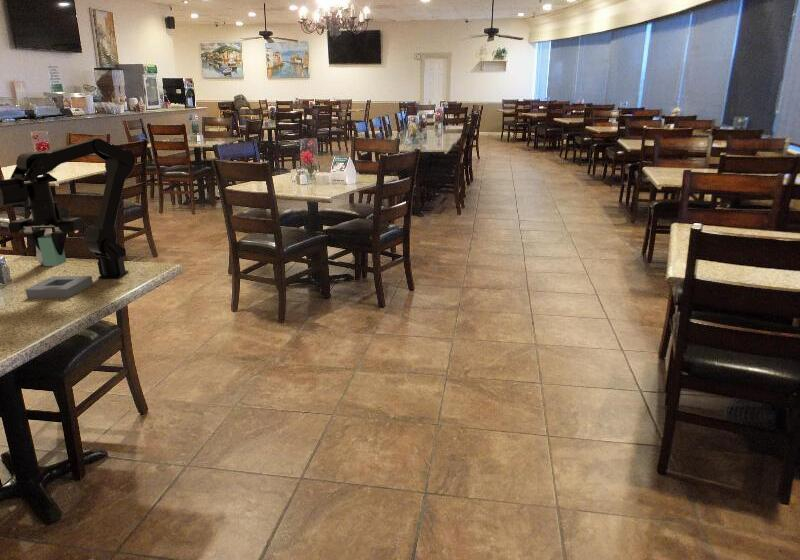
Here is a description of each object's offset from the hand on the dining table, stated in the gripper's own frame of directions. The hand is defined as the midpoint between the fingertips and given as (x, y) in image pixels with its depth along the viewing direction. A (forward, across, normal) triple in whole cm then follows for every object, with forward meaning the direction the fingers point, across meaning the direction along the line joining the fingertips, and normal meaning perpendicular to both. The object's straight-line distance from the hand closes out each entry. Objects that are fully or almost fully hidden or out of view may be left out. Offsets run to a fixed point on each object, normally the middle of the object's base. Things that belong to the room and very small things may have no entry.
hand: (53, 255), depth 163 cm
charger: (+2, 0, 0) cm, 2 cm away
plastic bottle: (+11, +22, -28) cm, 37 cm away
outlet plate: (+11, 0, 0) cm, 11 cm away
